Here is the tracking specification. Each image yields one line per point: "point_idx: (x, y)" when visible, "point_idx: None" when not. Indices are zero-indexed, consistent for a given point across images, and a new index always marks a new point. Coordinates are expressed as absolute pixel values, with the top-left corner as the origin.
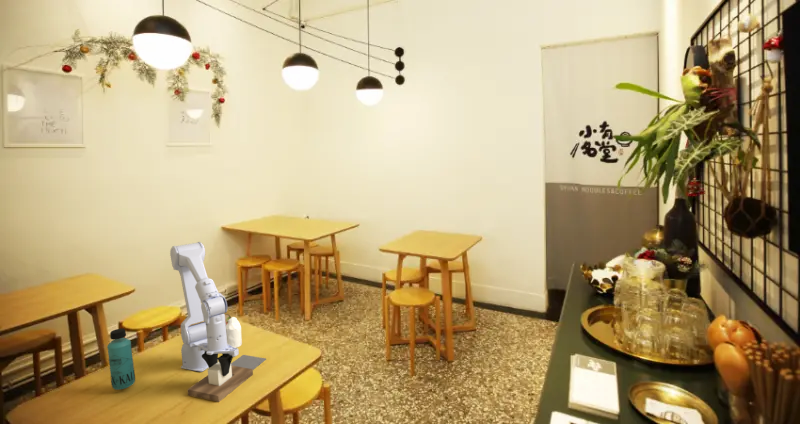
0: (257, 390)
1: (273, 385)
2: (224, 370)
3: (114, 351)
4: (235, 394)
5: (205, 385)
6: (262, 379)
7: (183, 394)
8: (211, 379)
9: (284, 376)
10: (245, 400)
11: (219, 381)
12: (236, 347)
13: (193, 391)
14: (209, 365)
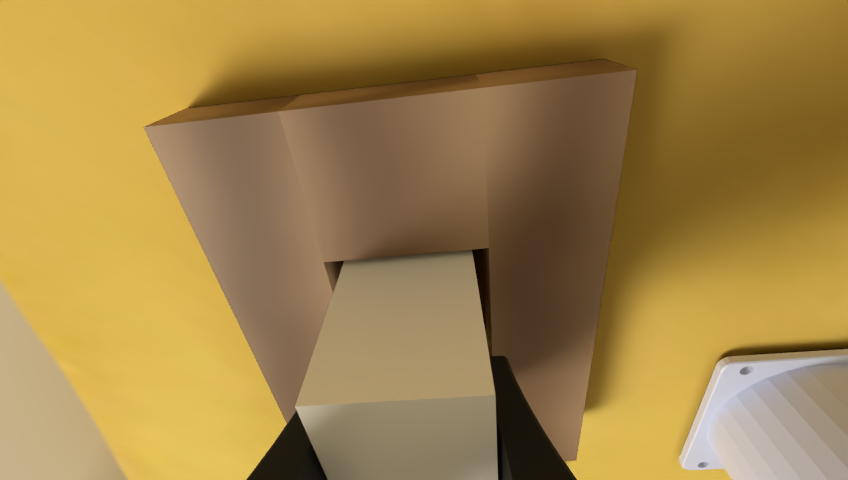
0: (105, 335)
1: (85, 398)
2: (290, 433)
3: None
4: (186, 248)
5: (473, 215)
6: (215, 417)
7: (670, 49)
8: (431, 290)
9: (136, 464)
10: (25, 220)
11: (338, 299)
12: None
13: (527, 79)
14: (523, 458)
